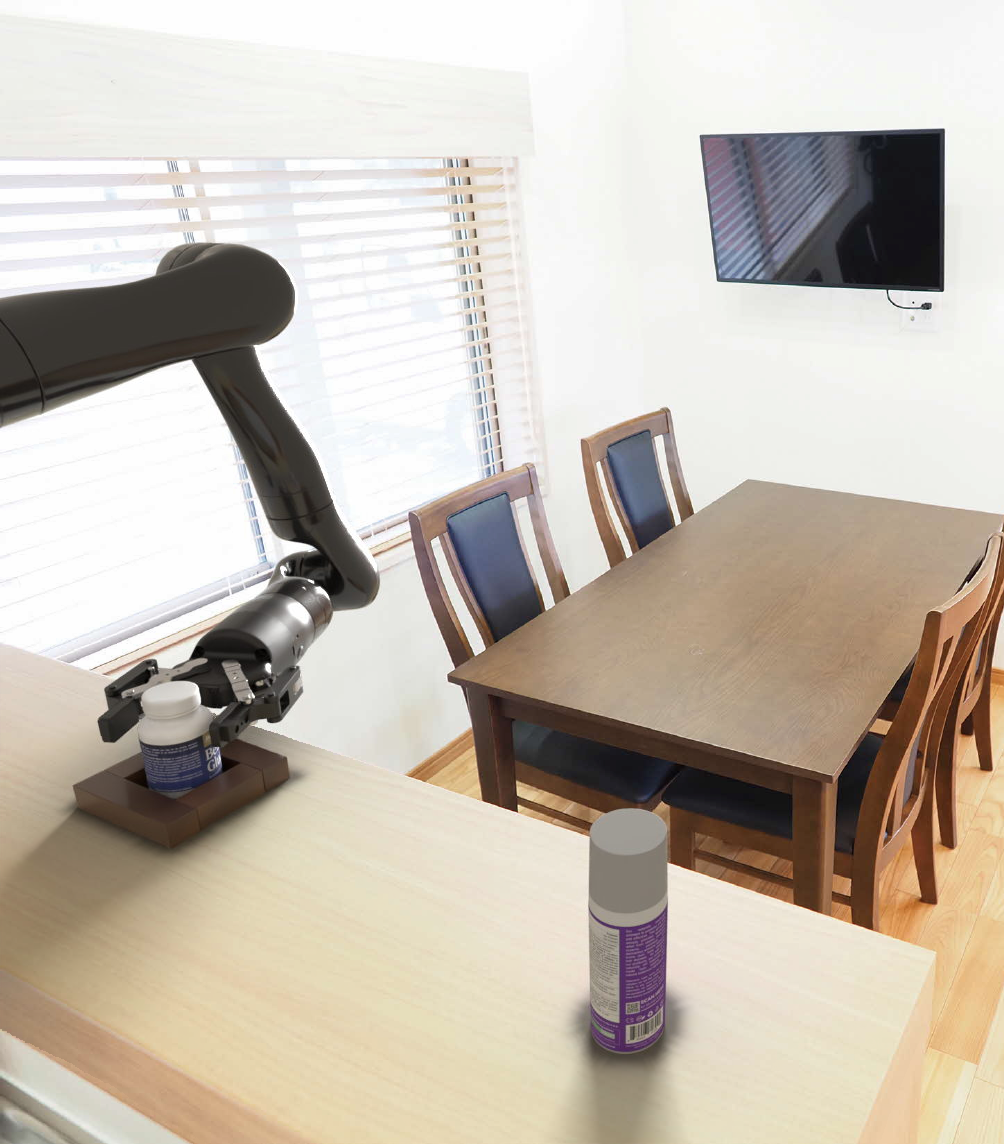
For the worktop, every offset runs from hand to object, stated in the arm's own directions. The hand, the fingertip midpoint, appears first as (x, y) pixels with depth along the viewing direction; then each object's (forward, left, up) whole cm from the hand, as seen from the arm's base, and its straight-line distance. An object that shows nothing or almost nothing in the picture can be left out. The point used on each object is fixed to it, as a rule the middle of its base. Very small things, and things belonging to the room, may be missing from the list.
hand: (160, 735), depth 77 cm
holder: (0, +2, -7) cm, 7 cm away
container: (+39, -21, -7) cm, 45 cm away
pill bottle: (0, +2, -7) cm, 8 cm away
